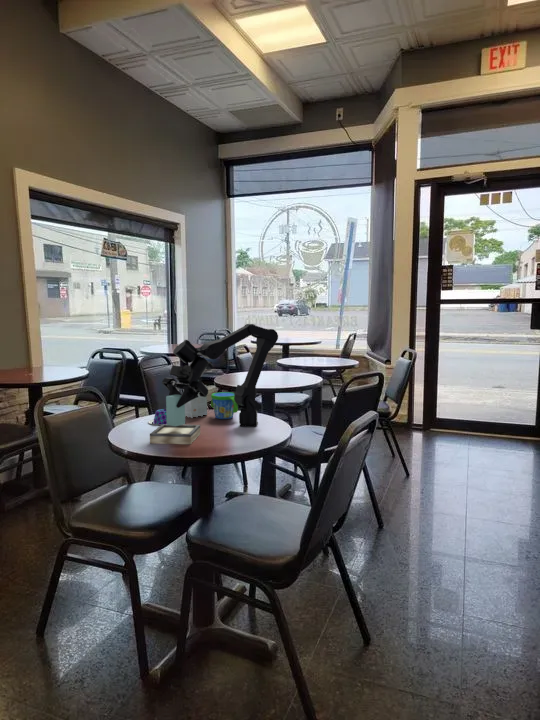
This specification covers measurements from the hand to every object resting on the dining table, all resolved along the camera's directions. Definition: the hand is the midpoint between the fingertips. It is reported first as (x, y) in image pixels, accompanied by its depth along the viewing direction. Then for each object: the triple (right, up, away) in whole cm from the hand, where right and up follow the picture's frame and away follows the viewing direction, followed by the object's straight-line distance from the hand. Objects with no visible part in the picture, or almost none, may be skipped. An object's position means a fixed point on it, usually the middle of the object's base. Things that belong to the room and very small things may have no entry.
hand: (172, 406), depth 163 cm
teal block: (+1, -6, +2) cm, 7 cm away
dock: (+1, -11, +2) cm, 12 cm away
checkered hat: (-9, -10, +27) cm, 30 cm away
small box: (+2, -8, +39) cm, 40 cm away
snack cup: (+15, -9, +35) cm, 39 cm away
